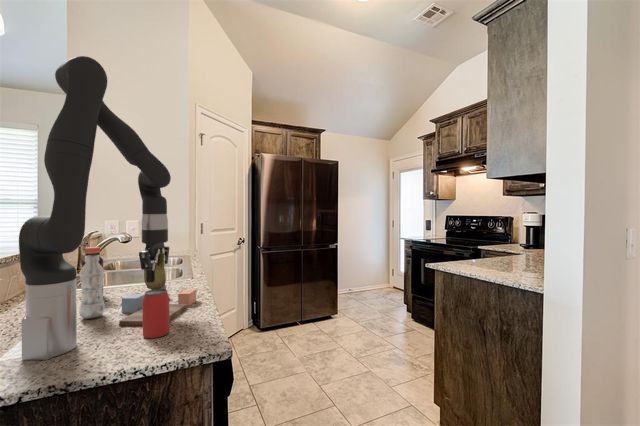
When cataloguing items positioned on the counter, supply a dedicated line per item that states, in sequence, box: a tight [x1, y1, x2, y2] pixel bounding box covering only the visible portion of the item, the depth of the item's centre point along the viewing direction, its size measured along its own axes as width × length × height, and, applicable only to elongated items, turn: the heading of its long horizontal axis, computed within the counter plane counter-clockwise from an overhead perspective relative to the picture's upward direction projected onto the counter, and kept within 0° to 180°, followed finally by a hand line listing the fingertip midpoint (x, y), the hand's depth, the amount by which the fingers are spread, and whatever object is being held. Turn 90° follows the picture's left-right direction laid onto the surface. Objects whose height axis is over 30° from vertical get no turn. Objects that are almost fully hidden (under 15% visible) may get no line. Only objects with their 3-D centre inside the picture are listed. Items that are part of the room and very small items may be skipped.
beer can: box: [142, 288, 170, 339], centre depth 83 cm, size 7×7×12 cm
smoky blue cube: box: [121, 293, 145, 314], centre depth 103 cm, size 5×5×5 cm
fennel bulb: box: [143, 253, 167, 290], centre depth 97 cm, size 6×5×12 cm
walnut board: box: [118, 303, 188, 327], centre depth 97 cm, size 16×13×2 cm
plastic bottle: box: [79, 254, 106, 320], centre depth 96 cm, size 6×7×20 cm
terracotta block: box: [177, 288, 197, 307], centre depth 111 cm, size 6×4×4 cm, turn 0°
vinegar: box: [81, 246, 104, 293], centre depth 118 cm, size 7×7×20 cm
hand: (155, 279), depth 97 cm, fingers closed on fennel bulb, 4 cm apart
